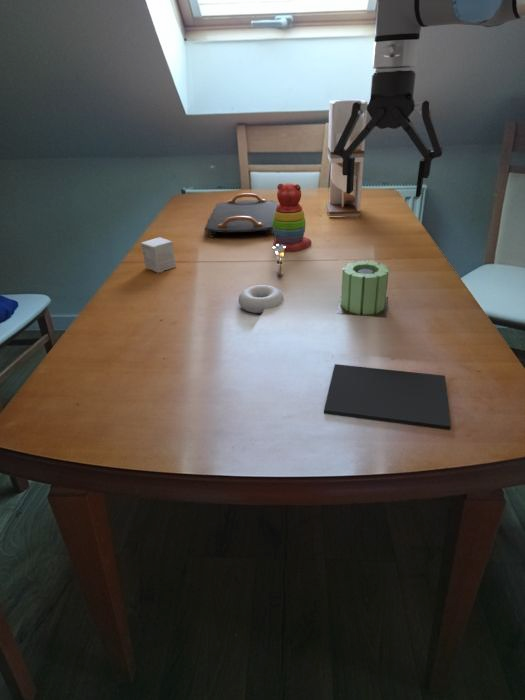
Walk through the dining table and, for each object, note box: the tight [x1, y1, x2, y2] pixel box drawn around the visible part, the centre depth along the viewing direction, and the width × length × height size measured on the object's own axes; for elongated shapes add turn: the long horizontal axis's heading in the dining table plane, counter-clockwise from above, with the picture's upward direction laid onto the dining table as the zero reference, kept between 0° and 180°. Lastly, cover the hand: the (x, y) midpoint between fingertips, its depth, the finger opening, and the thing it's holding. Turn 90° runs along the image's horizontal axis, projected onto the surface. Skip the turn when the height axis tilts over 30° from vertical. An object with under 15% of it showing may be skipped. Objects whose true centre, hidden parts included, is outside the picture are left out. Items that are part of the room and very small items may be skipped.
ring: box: [272, 243, 285, 276], centre depth 116 cm, size 7×3×8 cm, turn 175°
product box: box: [140, 236, 177, 274], centre depth 124 cm, size 6×6×7 cm
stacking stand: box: [336, 269, 389, 319], centre depth 96 cm, size 10×10×9 cm
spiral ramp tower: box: [325, 99, 368, 217], centre depth 156 cm, size 11×11×35 cm
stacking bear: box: [272, 183, 312, 253], centre depth 132 cm, size 11×10×18 cm
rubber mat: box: [323, 363, 452, 430], centre depth 73 cm, size 18×13×1 cm
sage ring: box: [340, 260, 390, 315], centre depth 96 cm, size 9×9×8 cm
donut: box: [238, 284, 284, 314], centre depth 102 cm, size 10×4×10 cm
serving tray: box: [204, 192, 278, 237], centre depth 159 cm, size 39×23×6 cm, turn 178°
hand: (383, 193), depth 93 cm, fingers open, 13 cm apart
